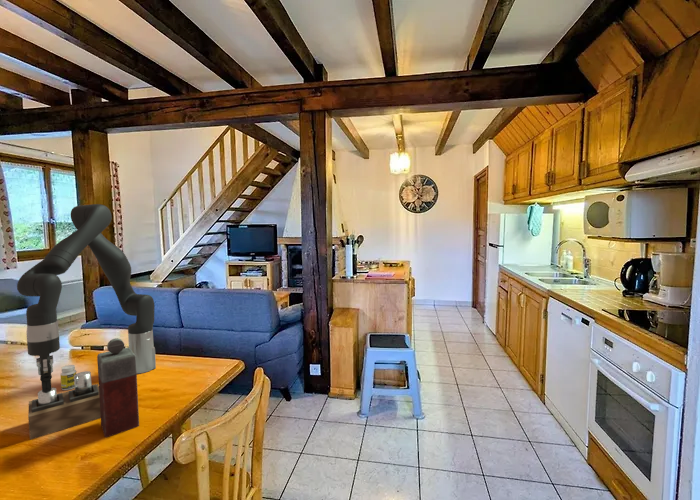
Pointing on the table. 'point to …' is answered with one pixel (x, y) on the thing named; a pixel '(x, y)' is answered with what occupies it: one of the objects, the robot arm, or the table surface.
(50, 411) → the brown wooden block
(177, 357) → the table surface
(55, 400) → the peg
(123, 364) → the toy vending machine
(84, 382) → the peg
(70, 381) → the supplement bottle
